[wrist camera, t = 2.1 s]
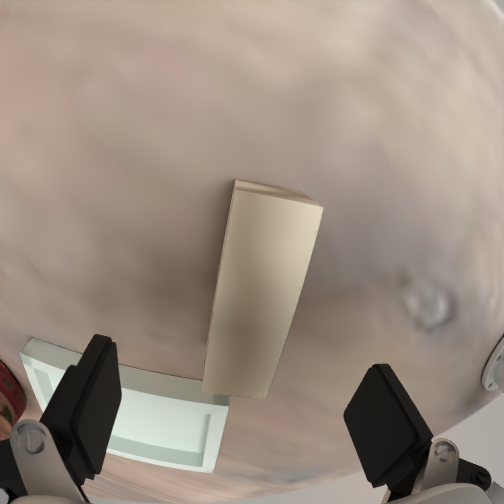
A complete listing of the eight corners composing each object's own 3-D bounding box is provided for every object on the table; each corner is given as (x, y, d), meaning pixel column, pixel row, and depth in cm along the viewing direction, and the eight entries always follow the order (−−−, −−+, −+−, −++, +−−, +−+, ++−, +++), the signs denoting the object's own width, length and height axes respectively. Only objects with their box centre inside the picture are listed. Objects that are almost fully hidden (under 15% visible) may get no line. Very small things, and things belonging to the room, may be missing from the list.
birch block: (300, 191, 17) (324, 207, 13) (259, 350, 21) (265, 398, 17) (235, 178, 17) (235, 189, 12) (206, 343, 21) (201, 391, 16)
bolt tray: (229, 384, 22) (229, 406, 20) (213, 455, 26) (212, 473, 24) (32, 337, 20) (19, 353, 18) (60, 417, 24) (52, 432, 22)
